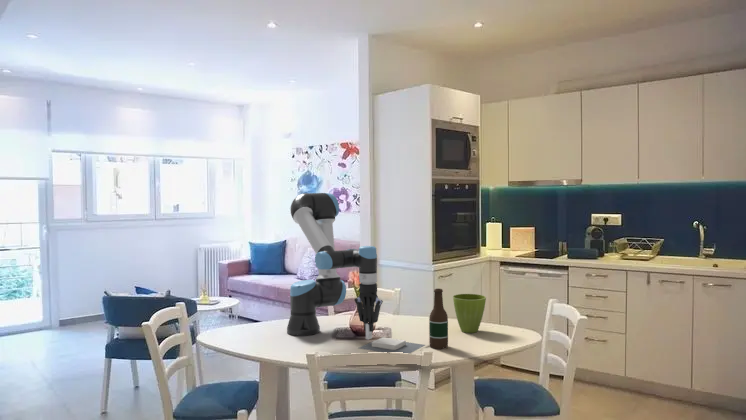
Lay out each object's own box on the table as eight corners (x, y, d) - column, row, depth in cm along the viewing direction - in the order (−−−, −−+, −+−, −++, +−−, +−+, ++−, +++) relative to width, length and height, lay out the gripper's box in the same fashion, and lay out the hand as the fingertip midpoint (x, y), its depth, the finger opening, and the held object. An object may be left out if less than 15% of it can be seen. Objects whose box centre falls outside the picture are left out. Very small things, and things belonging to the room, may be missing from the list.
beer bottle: (427, 344, 232) (427, 287, 231) (446, 344, 232) (445, 287, 232) (431, 349, 224) (430, 290, 223) (450, 349, 225) (449, 290, 224)
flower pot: (493, 332, 252) (492, 297, 252) (469, 337, 244) (469, 301, 243) (469, 325, 264) (469, 292, 264) (446, 330, 256) (446, 296, 255)
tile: (371, 342, 227) (395, 345, 221) (382, 337, 235) (405, 340, 229) (371, 346, 227) (395, 350, 221) (383, 341, 235) (405, 345, 229)
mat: (357, 349, 225) (357, 348, 225) (380, 339, 241) (380, 338, 241) (404, 357, 214) (404, 355, 214) (425, 346, 229) (425, 344, 229)
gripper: (350, 283, 233) (351, 338, 233) (376, 285, 226) (377, 342, 226) (360, 280, 239) (360, 334, 240) (386, 282, 232) (386, 338, 233)
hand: (368, 338), depth 233 cm, fingers closed
